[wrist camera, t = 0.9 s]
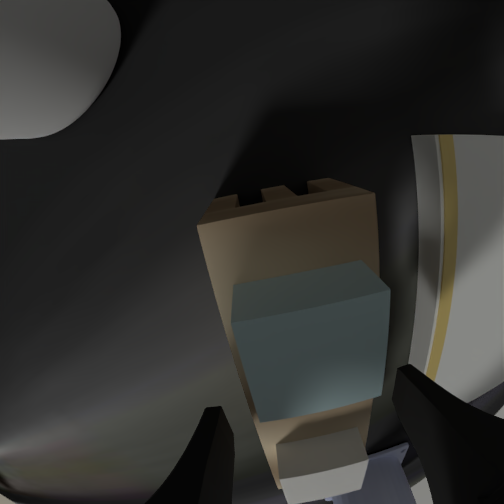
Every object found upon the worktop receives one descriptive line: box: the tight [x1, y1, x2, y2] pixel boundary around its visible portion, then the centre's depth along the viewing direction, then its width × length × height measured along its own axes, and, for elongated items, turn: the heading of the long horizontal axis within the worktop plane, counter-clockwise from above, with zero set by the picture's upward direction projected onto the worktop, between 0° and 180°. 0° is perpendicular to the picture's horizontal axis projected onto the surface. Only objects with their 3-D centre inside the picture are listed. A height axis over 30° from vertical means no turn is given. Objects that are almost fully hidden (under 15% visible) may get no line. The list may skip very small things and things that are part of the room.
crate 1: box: [231, 260, 391, 423], centre depth 8 cm, size 4×4×2 cm
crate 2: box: [276, 427, 369, 504], centre depth 11 cm, size 4×4×2 cm
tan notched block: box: [197, 178, 380, 489], centre depth 13 cm, size 16×5×5 cm, turn 11°
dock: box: [408, 134, 504, 403], centre depth 13 cm, size 19×14×2 cm
